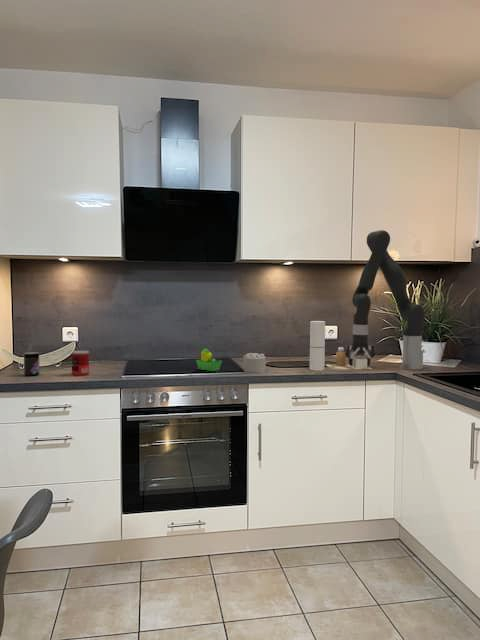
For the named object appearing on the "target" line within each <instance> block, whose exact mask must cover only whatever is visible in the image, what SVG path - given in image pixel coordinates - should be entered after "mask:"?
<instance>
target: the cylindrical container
mask: <svg viewBox="0 0 480 640" xmlns="http://www.w3.org/2000/svg"><path fill="white" fill-rule="evenodd" d="M309 322H310V324H309V327H310V328H309V337H310V338H309V373H311V374H312V371H319V372H315V374H321V372H320V371H324V370H325V362H326V361H325V358H326V357H325V356H326V355H325V354H326V353H325V348H326V347H325V346H326V345H325V343H326V321H323V320H311V321H309Z"/></svg>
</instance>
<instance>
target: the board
mask: <svg viewBox="0 0 480 640" xmlns="http://www.w3.org/2000/svg"><path fill="white" fill-rule="evenodd" d="M324 366H325V367H328V368H329V369H331V370H373V368H372V367H369V366H367V368H354V367H353V366H350V365H349V363H348V364H347V363H345V366H343V367H340V366H336V363H334V364H333V363H332V364H330V363H329V364H325V363H324Z"/></svg>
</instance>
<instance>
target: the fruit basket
mask: <svg viewBox="0 0 480 640" xmlns="http://www.w3.org/2000/svg"><path fill="white" fill-rule="evenodd" d="M200 353H201V355H200V356H201V358H200V359H196V360H195V362H196V364H197V368H198V370H199V369H202V370H208V371H216V370H219V371H220V369H221V365H222V362H223V360H220V359H219V360H218V359H215V358H212V357H213V353H212V352H210V351H209V349H207V348H204V349H203V348H202V351H201V352H200ZM208 371H207V372H208ZM216 372H217V371H216Z"/></svg>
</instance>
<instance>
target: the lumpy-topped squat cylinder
mask: <svg viewBox="0 0 480 640" xmlns="http://www.w3.org/2000/svg"><path fill="white" fill-rule="evenodd" d="M242 370H243V372H245V373H250V374H263V373H265V372H266V356H265V354H264V353H260V354H259V353H257V352H249V353H246V354H245V355H243V368H242Z"/></svg>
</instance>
